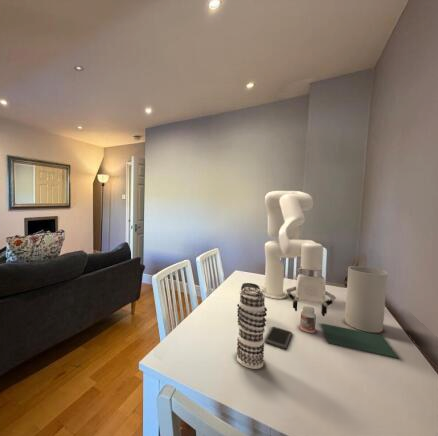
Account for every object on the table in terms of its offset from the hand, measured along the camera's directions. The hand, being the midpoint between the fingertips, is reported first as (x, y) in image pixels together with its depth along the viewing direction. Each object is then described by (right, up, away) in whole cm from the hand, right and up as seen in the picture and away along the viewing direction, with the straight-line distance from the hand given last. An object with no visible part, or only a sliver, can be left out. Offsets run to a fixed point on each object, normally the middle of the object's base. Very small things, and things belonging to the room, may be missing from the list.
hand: (309, 312), depth 103 cm
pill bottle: (0, -8, +1) cm, 8 cm away
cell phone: (-16, -8, -5) cm, 19 cm away
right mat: (+14, -8, -6) cm, 18 cm away
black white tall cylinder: (-33, -9, -19) cm, 39 cm away
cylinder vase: (+27, -8, +4) cm, 28 cm away
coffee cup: (-20, -7, +12) cm, 25 cm away
